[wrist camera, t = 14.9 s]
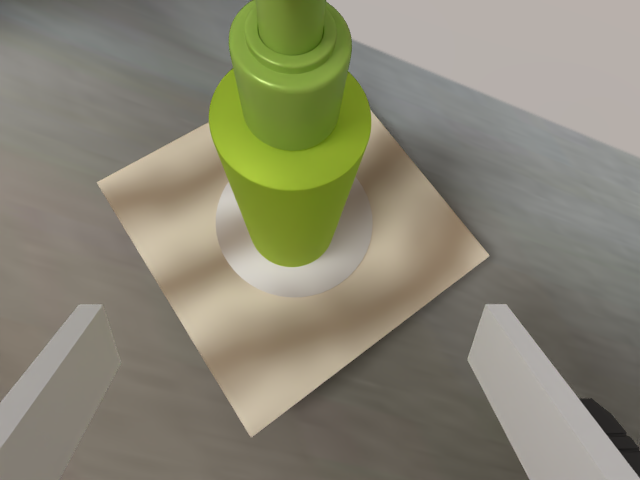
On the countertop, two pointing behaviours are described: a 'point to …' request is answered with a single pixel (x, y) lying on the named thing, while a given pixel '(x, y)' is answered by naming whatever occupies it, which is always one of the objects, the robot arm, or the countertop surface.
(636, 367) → the countertop surface
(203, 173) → the stand
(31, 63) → the countertop surface
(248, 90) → the soap dispenser
